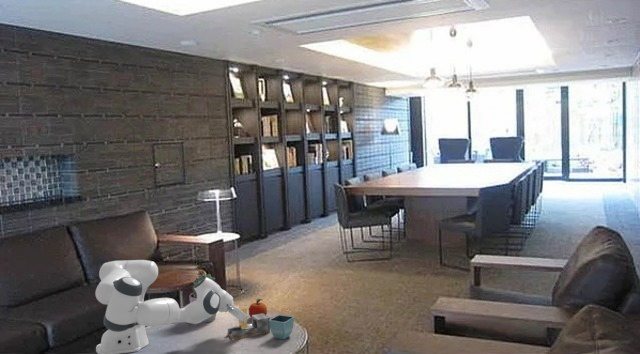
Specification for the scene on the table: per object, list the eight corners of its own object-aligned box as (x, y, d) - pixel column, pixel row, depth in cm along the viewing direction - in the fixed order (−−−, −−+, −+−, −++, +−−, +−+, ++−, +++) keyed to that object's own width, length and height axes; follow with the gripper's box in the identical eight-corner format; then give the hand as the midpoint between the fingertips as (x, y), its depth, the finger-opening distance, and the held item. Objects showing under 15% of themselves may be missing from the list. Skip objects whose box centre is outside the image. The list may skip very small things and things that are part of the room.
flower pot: (268, 339, 257) (268, 319, 257) (278, 332, 265) (278, 314, 264) (285, 341, 253) (284, 322, 253) (294, 335, 261) (294, 316, 260)
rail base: (233, 339, 257) (232, 324, 256) (227, 334, 264) (227, 319, 263) (270, 332, 266) (269, 317, 265) (263, 327, 273) (263, 313, 272)
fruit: (244, 319, 286) (244, 300, 285) (257, 314, 293) (257, 296, 293) (258, 323, 280) (257, 303, 279) (271, 318, 287) (270, 299, 287)
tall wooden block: (241, 333, 261) (240, 309, 261) (239, 331, 264) (238, 307, 263) (261, 329, 266) (260, 305, 265) (258, 327, 269) (257, 304, 268)
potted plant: (206, 328, 274) (204, 278, 272) (180, 321, 285) (178, 273, 284) (232, 318, 288) (231, 271, 286) (207, 312, 300) (205, 266, 298)
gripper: (236, 302, 250) (257, 319, 255) (221, 291, 268) (240, 308, 273) (227, 313, 248) (248, 331, 253) (212, 302, 266) (232, 318, 271)
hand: (244, 319), depth 263 cm, fingers open, 3 cm apart
